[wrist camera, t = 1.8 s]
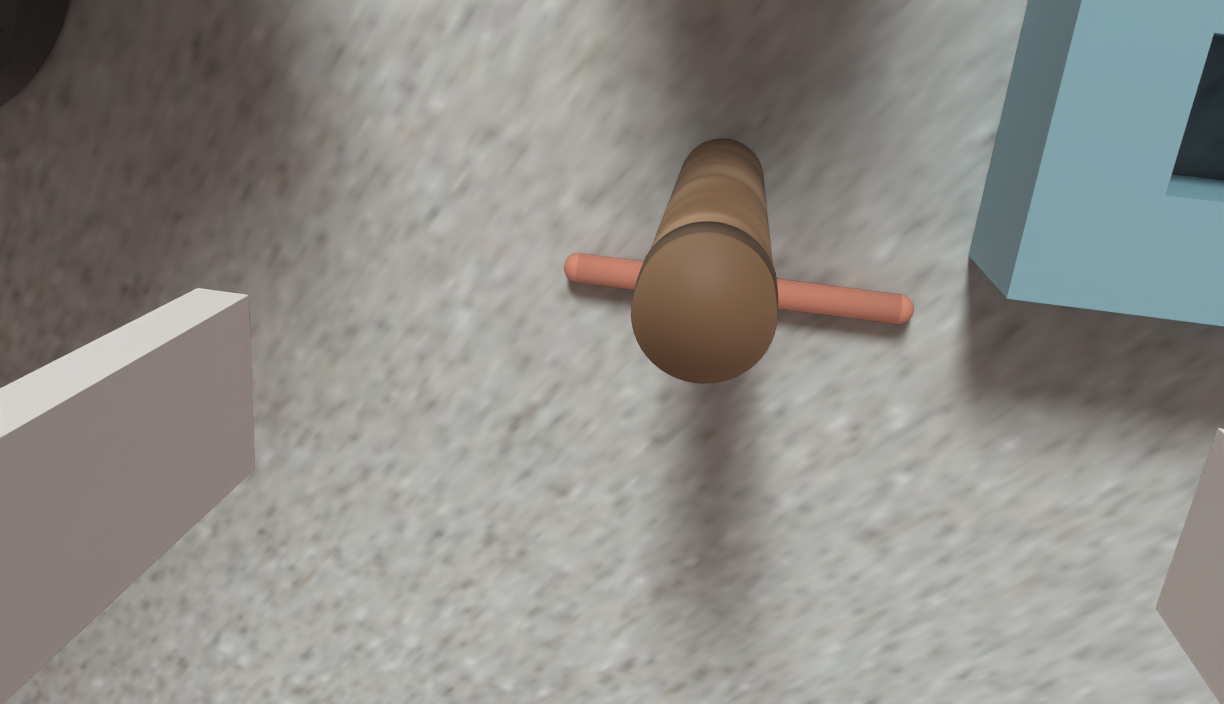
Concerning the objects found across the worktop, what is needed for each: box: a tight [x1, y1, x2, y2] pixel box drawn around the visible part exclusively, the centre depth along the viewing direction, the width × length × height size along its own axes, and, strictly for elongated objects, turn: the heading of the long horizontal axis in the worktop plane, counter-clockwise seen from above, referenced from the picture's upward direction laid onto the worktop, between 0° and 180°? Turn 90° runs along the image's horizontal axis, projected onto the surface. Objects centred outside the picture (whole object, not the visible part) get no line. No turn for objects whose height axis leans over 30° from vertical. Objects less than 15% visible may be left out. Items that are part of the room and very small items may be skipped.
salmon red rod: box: [564, 253, 914, 324], centre depth 33 cm, size 12×1×1 cm, turn 84°
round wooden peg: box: [631, 139, 778, 383], centre depth 26 cm, size 3×3×15 cm
